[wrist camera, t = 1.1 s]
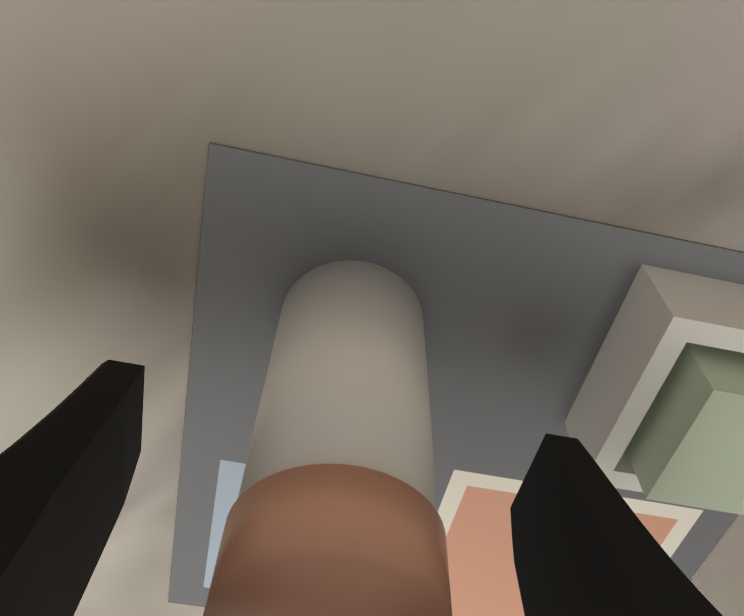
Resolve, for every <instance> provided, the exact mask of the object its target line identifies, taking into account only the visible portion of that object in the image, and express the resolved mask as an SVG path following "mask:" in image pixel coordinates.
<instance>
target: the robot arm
mask: <svg viewBox="0 0 744 616" xmlns="http://www.w3.org/2000/svg"><path fill="white" fill-rule="evenodd" d="M144 369H145V366H143V365H137V364H131V363H125V362H119V361H113V360H107V361H106V362H104V363H102V364H101V365H100V366H99V367H98V368H97V369H96V370H95V371H94V372H93V373H92V374H91V375H90V376H89V377H88V378H87V379H86V380H85V381H84V382H83V383H82V384H81V385H80V386H79V387H77V388H76V389H75V390H74V391H73V392H72V393H71V394H70V395H69V396H68V397H67V398H66V399H65V400H63V401H62V402H61V403H60V404H59V405H58V406H57V407H56V408H55V409H54V410H52V411H51V412H50V413H49V414H48V415H47V416H46V417H44V418H43V419H42V420H41V421H40V422H39V423H37V424H36V425H35V426H34V427H33V428H32V429H30V430H29V431H28V432H27V433H26V434H25V435H23V436H22V437H21V438H20V439H19V440H17V441H16V442H15V443H14V444H13V445H11V446H10V447H9V448H7V449H6V450H5V451H4V452H2V453H1V454H0V616H73V615H74V613H75V611H76V609H77V607H78V604H79V602H80V600H81V598H82V596H83V594H84V591H85V589H86V587H87V585H88V583H89V580H90V578H91V576H92V574H93V572H94V569H95V567H96V565H97V563H98V561H99V558H100V556H101V554H102V552H103V550H104V547H105V545H106V543H107V541H108V539H109V536H110V534H111V532H112V530H113V527H114V525H115V523H116V521H117V519H118V516H119V514H120V512H121V509H122V507H123V505H124V502H125V499H126V496H127V493H128V490H129V487H130V484H131V481H132V478H133V474H134V471H135V468H136V465H137V462H138V458H139V455H140V452H141V437H142V414H143V392H144ZM510 513H511V530H512V544H513V556H514V564H515V569H516V575H517V580H518V585H519V590H520V595H521V600H522V605H523V610H524V614H525V616H722V615H721V614H720V613H719V612H718V610H717V609H716V608H715V607H714V606H713V605H712V604H711V603H710V602H709V601H708V600H707V599H706V598H705V597H704V596H703V595H702V594H701V592H700V591H699V590H698V589H697V588H696V587H695V586H694V585H693V583H692V582H691V581H690V580H689V579H688V578H687V577H686V575H685V574H684V573H683V572H682V571H681V570H680V568H679V567H678V566H677V565H676V564H675V563H674V562H673V560H672V559H671V558H670V557H669V556H668V554H667V553H666V552H665V551H664V550H663V548H662V547H661V546H660V545H659V544H658V542H657V541H656V540H655V539H654V537H653V536H652V535H651V534H650V532H649V531H648V530H647V529H646V527H645V526H644V525H643V524H642V522H641V521H640V520H639V518H638V517H637V516H636V515H635V513H634V512H633V511H632V509H631V508H630V507H629V505H628V504H627V503H626V502H625V500H624V499H623V498H622V496H621V495H620V494H619V492H618V491H617V490H616V488H615V487H614V486H613V484H612V483H611V482H610V480H609V479H608V478H607V476H606V475H605V474H604V472H603V471H602V470H601V468H600V467H599V465H598V464H597V463H596V461H595V460H594V459H593V458H592V456H591V455H590V454H589V452H588V451H587V450H586V448H585V447H584V446H583V445H582V443H581V442H580V441H579V440H578V439H577V438H571V437H565V436H559V435H553V434H547V433H546V434H545V436H544V438H543V440H542V442H541V444H540V447H539V449H538V451H537V453H536V455H535V457H534V459H533V461H532V463H531V465H530V468H529V470H528V472H527V474H526V476H525V478H524V480H523V482H522V484H521V486H520V488H519V491H518V493H517V495H516V497H515V499H514V501H513V503H512V505H511V507H510Z"/></svg>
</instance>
